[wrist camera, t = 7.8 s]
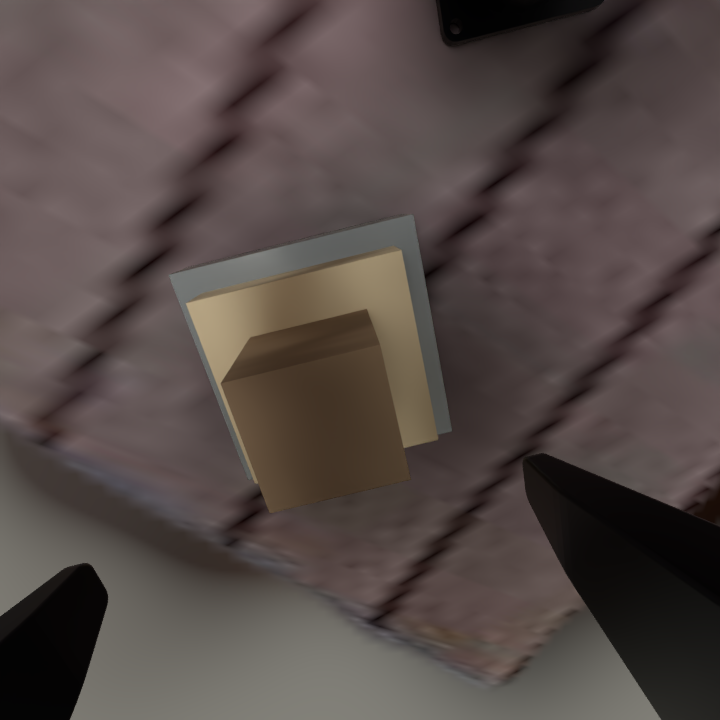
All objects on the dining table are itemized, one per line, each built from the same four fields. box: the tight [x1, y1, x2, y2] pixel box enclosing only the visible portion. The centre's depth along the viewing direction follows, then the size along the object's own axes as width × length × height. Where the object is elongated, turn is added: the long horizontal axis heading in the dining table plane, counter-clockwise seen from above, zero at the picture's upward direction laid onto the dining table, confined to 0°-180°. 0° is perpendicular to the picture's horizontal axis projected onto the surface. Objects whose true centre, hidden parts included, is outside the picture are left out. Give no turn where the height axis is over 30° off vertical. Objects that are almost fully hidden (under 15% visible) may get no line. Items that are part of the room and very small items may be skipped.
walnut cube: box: [220, 309, 411, 513], centre depth 14 cm, size 4×4×4 cm
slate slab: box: [169, 214, 452, 480], centre depth 20 cm, size 10×10×2 cm
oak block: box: [186, 246, 438, 484], centre depth 17 cm, size 8×8×2 cm
